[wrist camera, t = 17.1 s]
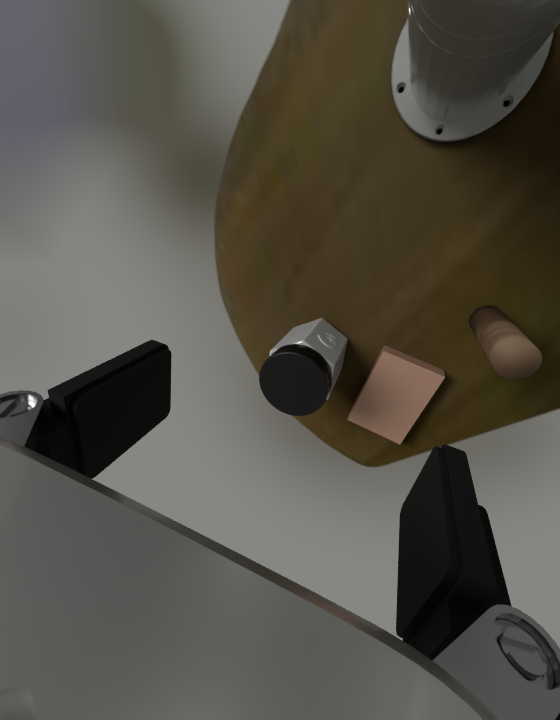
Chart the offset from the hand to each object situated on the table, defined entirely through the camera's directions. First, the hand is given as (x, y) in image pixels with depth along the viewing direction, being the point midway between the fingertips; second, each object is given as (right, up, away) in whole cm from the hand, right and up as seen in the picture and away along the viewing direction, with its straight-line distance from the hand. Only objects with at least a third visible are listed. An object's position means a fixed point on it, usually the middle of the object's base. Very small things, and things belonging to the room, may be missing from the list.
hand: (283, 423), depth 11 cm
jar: (+5, +4, +35) cm, 36 cm away
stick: (+24, +7, +26) cm, 36 cm away
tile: (+17, +2, +30) cm, 35 cm away
